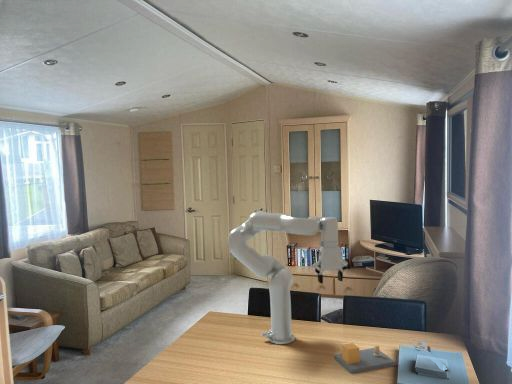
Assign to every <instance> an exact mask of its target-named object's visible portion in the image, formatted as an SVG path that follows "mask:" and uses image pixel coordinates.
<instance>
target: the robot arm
mask: <svg viewBox="0 0 512 384" xmlns="http://www.w3.org/2000/svg"><path fill="white" fill-rule="evenodd" d="M262 231H265V232H266V231H267V232H279V233H284V234H291V235H298V236H299V235H300V236H314V235H316V234H317V233H318V232H320V237H321V238H320V242H318V246H320V247H319V252H318V261H316V262H315V263H313V264H312V265H311V266H312V268H313V271H314V272H315V273H316V274H317V282H318V283H319V284H322V285H323V284H324V275H323V273H324V271H325V272H327V271H329V272H330V271H337V280H338V281H339V282H343V279H344V274H343V273H345V270H346V269H347V266H348V264H349V263H348V261H346V260H344V259H343V255H342V250H341V247H340V246H339V222H338V218H337V217H335V216H324V217H322V216H316V215H314V216H309V217H307V218H306V217H305V218H304V217H295V216H294V217H293V216H290V215H287V214H285V213H278V212H267V211H265V210H257V211H254V212H252V213H251V214H250V215H249V217H248V219H247V220H246V221H244V223H242V224H241V225H239V226H237V227H235V228H233V229H232V230H231V231H230V232H229V234H228V237H227V247H228V250H229V252H230V254H232V256H233V257H234V258H235V259H237V260H238V261H239V262H240V263H241V264H243V266H245V267H246V268H247V269H248V270H250V271H251V272H252V273H253V274H254V275H255V276H256V277H259V278H260V279H265V278H267V277H268V278H269V281H268V290H269V291H268V292H269V299H270V300H269V301H270V302H269V303H270V328H269V330H268V331H267V332H266V331H265V332H261V333H260V335H261V337H262V338H264V337H265V338H266V339H268V341H269V342H270V343H272V344H276V345H286V344H287V345H289V344H291V343H294V341H295V340H296V337H295V334H293V333H292V304H291V302H292V300H291V292H290V291H291V286H292V284H293V281H294V276H293V273H292V271H291V270H290V269H289V268H287V266H285V265H284V264H283V263H282V262H280V261H279V260H278V259H276V258H275V257H274V256H272V255H270V254H262V255H261V254H260V253H259V252H257V251H256V250H255V248H252V247H251V246H249V245H248V244H247V243H248V242H249V241H250V240H252V239H253V238H254V237H256V235H258V234H259V233H260V232H262Z"/></svg>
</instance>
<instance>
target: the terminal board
mask: <svg viewBox="0 0 512 384" xmlns="http://www.w3.org/2000/svg"><path fill="white" fill-rule="evenodd" d="M333 359H335V360H336V362H338V363H339V364H340V365H341V366H342V367H343V368H344V369H345V370H347V371H348V372H349V373H350V374H358V373H362V372H366V371H367V372H369V371H372V370H378V369H382V368H383V369H385V368H389V367H393V366H394V367H395V366H396V365H397V364H396V361H395V360H394V359H392V358H391V357H389V355H387V354H385V353H384V352H383V351H382V350H380V346H379V345H377V344H376V345H374V347H372V348H367V349H361V350H360V349H359V360H360V362H357V363H352V364H348V363H347V362H345V361H344V360H343V359H342V352H341V353H337V354H333Z"/></svg>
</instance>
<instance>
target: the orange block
mask: <svg viewBox="0 0 512 384" xmlns="http://www.w3.org/2000/svg"><path fill="white" fill-rule="evenodd" d="M359 350H360V347H359V346H357V345H356V344H355V343H353V342H351V343H345V344H341V353H342V359H343V360H344V361H345V362H347V363H348V364H352V363H357V362H360V360H359Z"/></svg>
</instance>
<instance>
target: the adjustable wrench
mask: <svg viewBox="0 0 512 384" xmlns="http://www.w3.org/2000/svg"><path fill="white" fill-rule="evenodd" d="M413 347H415V348H419V349H428V343H426V342H425V341H420V340H419V341H418V343H416V342H413V343H412V348H413ZM428 350H429V349H428Z"/></svg>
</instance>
